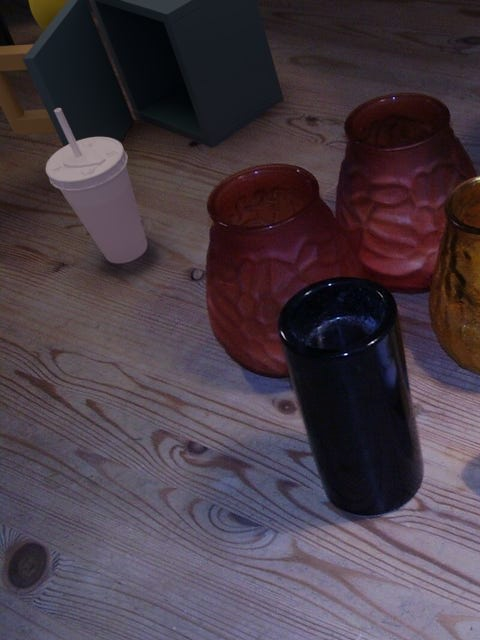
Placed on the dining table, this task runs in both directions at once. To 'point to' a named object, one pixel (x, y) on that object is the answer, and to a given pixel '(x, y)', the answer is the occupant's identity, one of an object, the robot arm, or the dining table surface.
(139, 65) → the cupboard
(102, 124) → the cupboard door
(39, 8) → the lemon
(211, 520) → the dining table surface
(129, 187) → the smoothie
